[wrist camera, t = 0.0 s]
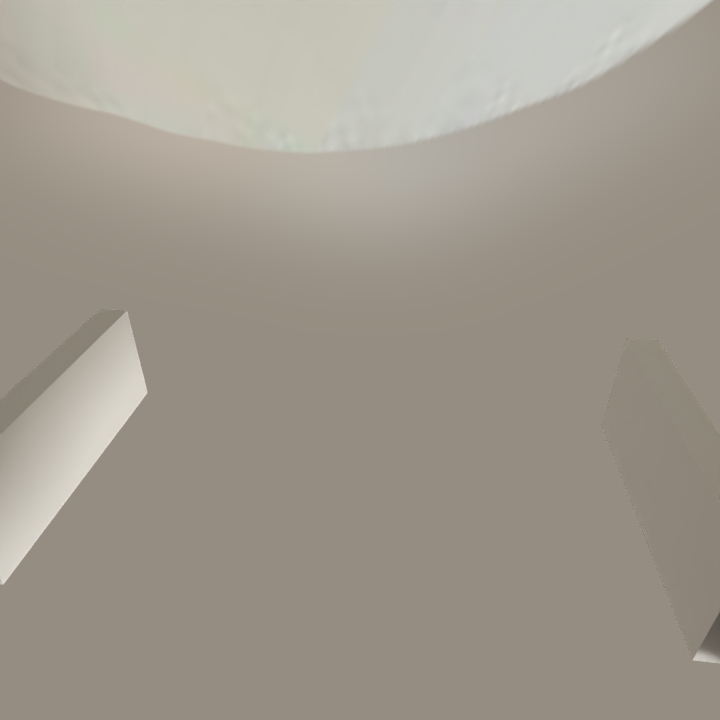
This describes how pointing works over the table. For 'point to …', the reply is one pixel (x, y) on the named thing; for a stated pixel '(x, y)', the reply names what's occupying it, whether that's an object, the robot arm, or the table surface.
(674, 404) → the robot arm
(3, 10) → the table surface
